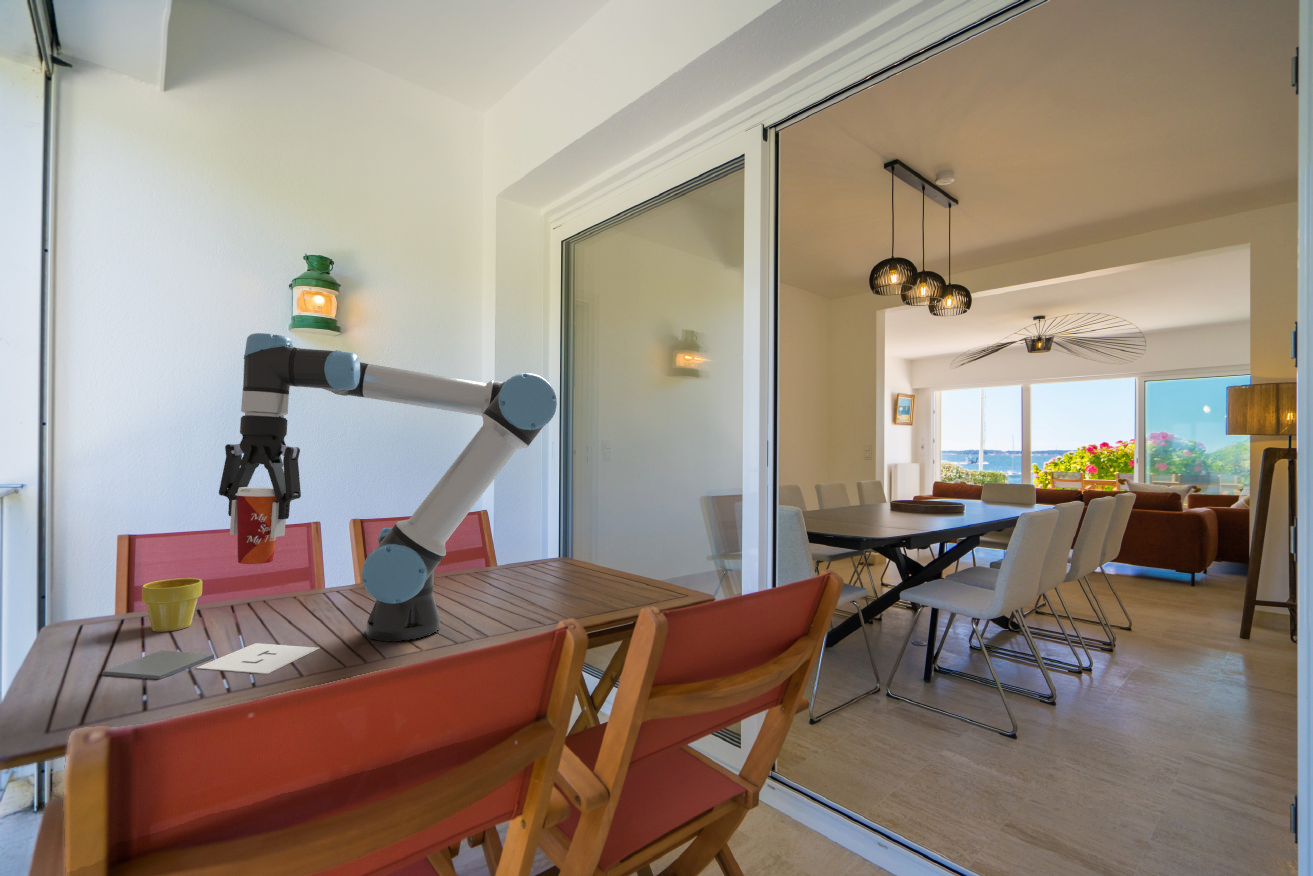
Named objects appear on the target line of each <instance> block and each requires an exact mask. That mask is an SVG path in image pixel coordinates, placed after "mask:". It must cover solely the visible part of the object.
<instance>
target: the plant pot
mask: <svg viewBox="0 0 1313 876" xmlns="http://www.w3.org/2000/svg"><path fill="white" fill-rule="evenodd" d="M202 594H203V580H202V578H196V577H182V578H181V577H180V578H170V579H169V578H168V579H161V580H156V581H151V582H147V583H145V584H143V585H142V586H141V602H142V603H143V604H145V606H146V610H147V614H148V619H149V623H150V627H151V630H152V631H153V632H155V633H156V632H158V633H160V632H161V633H165V632H166V633H167V632H174V631H180V630H183V629H187V628H189V627H190V626H191V625H192V623H193V618H194V615H195V610H196V608H197V603H198V599H199V598H200V597H202Z"/></svg>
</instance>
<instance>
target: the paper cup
mask: <svg viewBox="0 0 1313 876" xmlns="http://www.w3.org/2000/svg"><path fill="white" fill-rule="evenodd" d="M235 495H237V534H236V537H237V538H236V539H237V563H238V564H242V565H259V564H268V563H271V562H273V560H274V556H275V550H276V543H277V537H271V523H272V506H273V503H274V502H275V500H277V498H276V495H275V492H274V489H273V486H248V487H240V488H239V489H238V492H237V493H236V494H235Z"/></svg>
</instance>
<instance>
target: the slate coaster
mask: <svg viewBox="0 0 1313 876" xmlns="http://www.w3.org/2000/svg"><path fill="white" fill-rule="evenodd" d="M214 658H215V654H213V653H201V652H188V651H187V652H185V651H173V650H159V651H156V652H153V653H151V654H147V655H145V656H142V657H139V658H137V659H133V660H131V661H128V662H125V663H122V664H119V665H117V666H113V667H111V668H107V669H105V670H103V671H102V675H103V676H116V677H127V678H139V679H140V678H141V679H152V680H162V679H164V678H167V677H169V676H171V675H175V674H177V673H179V672H182V671H185V670H186V669H189V668H192V667H195V666H196V665H199V664H201V663H204V662H206V661H209V660H212V659H214Z"/></svg>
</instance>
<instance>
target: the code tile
mask: <svg viewBox="0 0 1313 876" xmlns="http://www.w3.org/2000/svg"><path fill="white" fill-rule="evenodd" d="M319 649H321V647H313V646H312V647H311V646H301V645H285V644H274V643H273V644H271V643H270V644H269V643H258V642H255V643H253V644H250V645H248V646H246V647H243V648H241V649H238V650H236V651H233V652H231V653H229V654H226V655H223V656H221V657H219V658H216V659H214V660H212V661H209V662H207V663H204V664H202V665H199V666H196V667H195V669H197V670H198V669H199V670H209V671H210V670H211V671H221V672H223V671H224V672H236V673H247V674H248V673H249V674H263V675H269V674H271V673H273V672H275V671H277V670H279V669H281V668H283V667H285V666H287V665H290V664H291V663H294V662H296V661H298V660H300V659H301V658H304V657H305V656H308V655H310V654H311V653H315V652H316V651H318V650H319Z"/></svg>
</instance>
